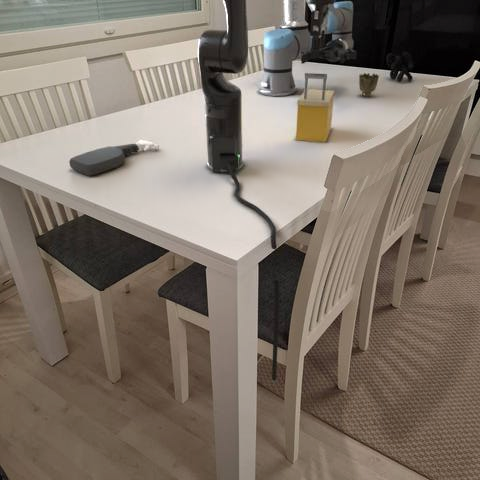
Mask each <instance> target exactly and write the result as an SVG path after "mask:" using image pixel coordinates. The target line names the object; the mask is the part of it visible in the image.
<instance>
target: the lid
mask: <svg viewBox="0 0 480 480" xmlns="http://www.w3.org/2000/svg"><path fill="white" fill-rule="evenodd" d="M309 79H312V80H315V79H316V80H322V89H312V88H311V89H309V88H308V84H309ZM327 79H328V73H317V72H316V73H315V72H314V73H313V72H305V73H304V91H303V92H302V93H301V95H300V96H299V98H297V101H296V102H297V103H296V104H297V106H298V105H311V106H327V107H328V106H329V104H330V102H331V100H332V98H333V96H334V97H335V90H326V88H327V87H326V86H327Z"/></svg>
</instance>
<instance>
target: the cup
mask: <svg viewBox="0 0 480 480" xmlns="http://www.w3.org/2000/svg"><path fill="white" fill-rule="evenodd" d="M379 77H380V75H379V74H378V73H373V74H371V75H370V73H369V72H368V73H365V72H364V73H363V74H362V73H361V74H359V77H358V79H359V80H358V84H359V85H358V86H359V90H360V91H361V95H362V97H366V98H367V97H371V96H372V93H373V92H374V91H375V90H376V88H377V86H378V81H379Z"/></svg>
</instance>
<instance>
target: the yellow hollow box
mask: <svg viewBox="0 0 480 480" xmlns="http://www.w3.org/2000/svg"><path fill="white" fill-rule="evenodd" d="M334 100H335V95H334V96H333V98H332V100H331V102H330V104H329V106H328V107H327V106H311V105H297V113H296V131H295V140H296V141H306V142H317V143H326V142H327V141H328V140H327V139H328V137H329V135H330V132H331V129H332V121H333V110H334Z"/></svg>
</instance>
